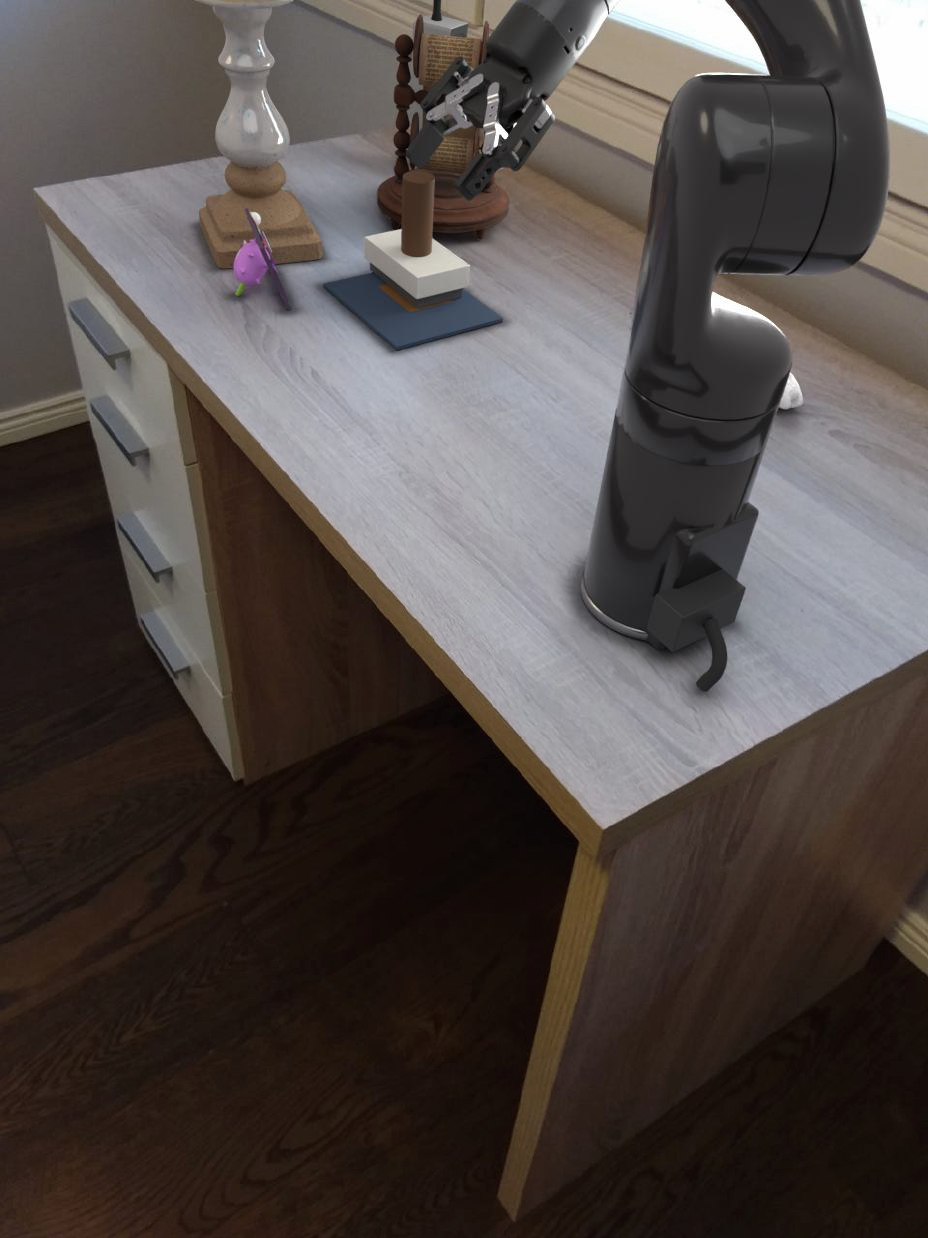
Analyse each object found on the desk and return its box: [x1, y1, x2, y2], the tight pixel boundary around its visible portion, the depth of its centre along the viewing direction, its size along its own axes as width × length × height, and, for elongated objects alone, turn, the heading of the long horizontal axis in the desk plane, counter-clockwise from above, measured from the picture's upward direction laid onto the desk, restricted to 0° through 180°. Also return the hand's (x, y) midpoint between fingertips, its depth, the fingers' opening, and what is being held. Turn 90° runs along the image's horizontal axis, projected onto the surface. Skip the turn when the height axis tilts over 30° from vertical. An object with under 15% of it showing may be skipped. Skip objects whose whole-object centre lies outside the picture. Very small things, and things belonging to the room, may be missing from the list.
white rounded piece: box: [778, 372, 804, 410], centre depth 91 cm, size 3×8×3 cm, turn 17°
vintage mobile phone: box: [408, 0, 469, 170], centre depth 115 cm, size 4×5×25 cm
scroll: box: [376, 14, 510, 241], centre depth 108 cm, size 15×15×20 cm
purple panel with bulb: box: [233, 208, 292, 311], centre depth 98 cm, size 7×5×9 cm
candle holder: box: [193, 0, 324, 269], centre depth 99 cm, size 11×11×24 cm
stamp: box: [363, 171, 471, 308], centre depth 99 cm, size 10×6×10 cm, turn 34°
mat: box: [322, 271, 504, 351], centre depth 100 cm, size 14×12×1 cm
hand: (436, 178), depth 96 cm, fingers open, 8 cm apart
